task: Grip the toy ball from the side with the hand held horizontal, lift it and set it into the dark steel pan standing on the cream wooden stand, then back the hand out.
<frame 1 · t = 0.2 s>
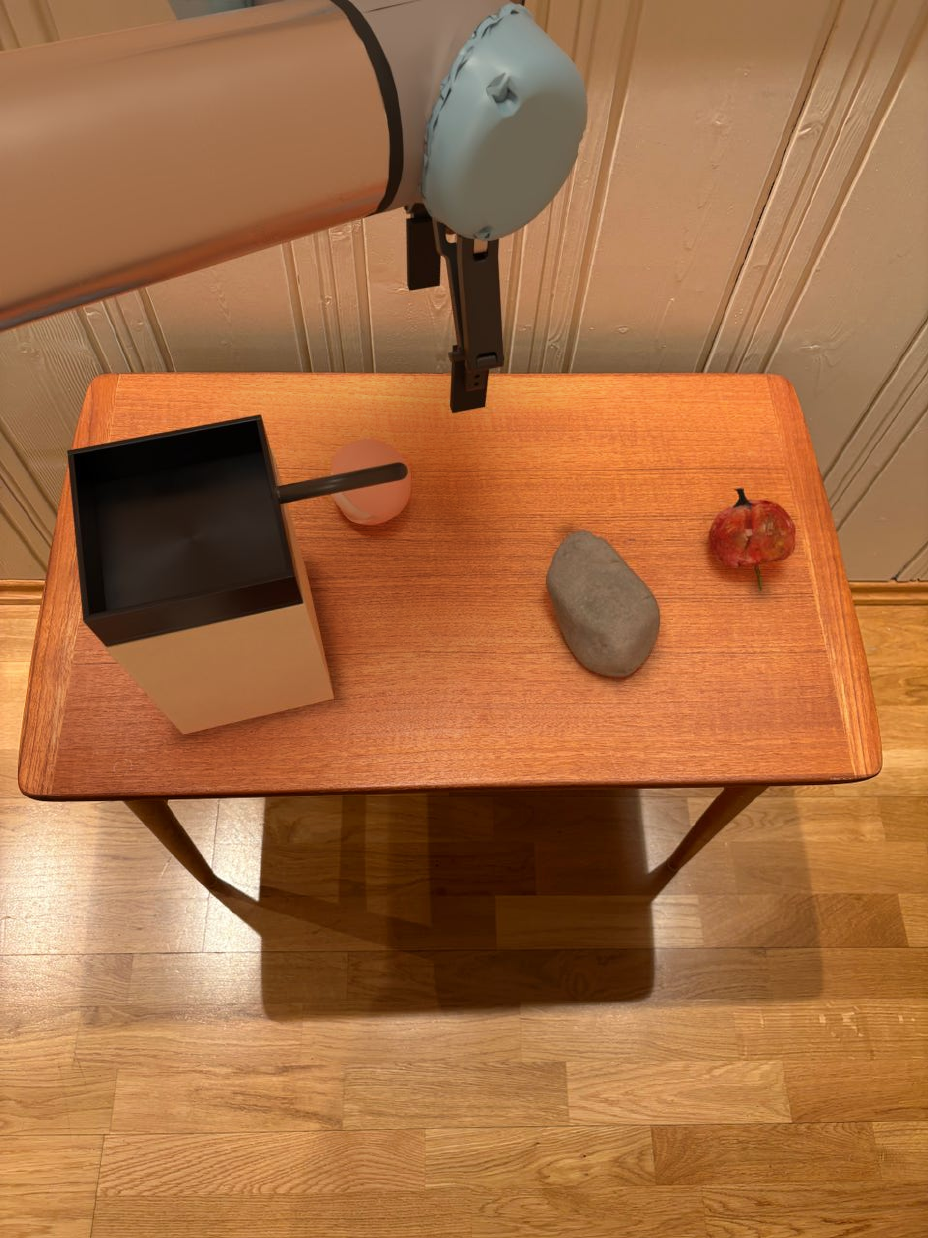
hand: (444, 343, 69), 16 cm above the table, tool pointing down, fingers open, 13 cm apart
toy ball: (372, 506, 82), on the table
stand: (247, 648, 75), on the table
pan: (193, 542, 57), resting on stand
stone: (590, 612, 78), on the table
pomegranate: (740, 557, 81), on the table
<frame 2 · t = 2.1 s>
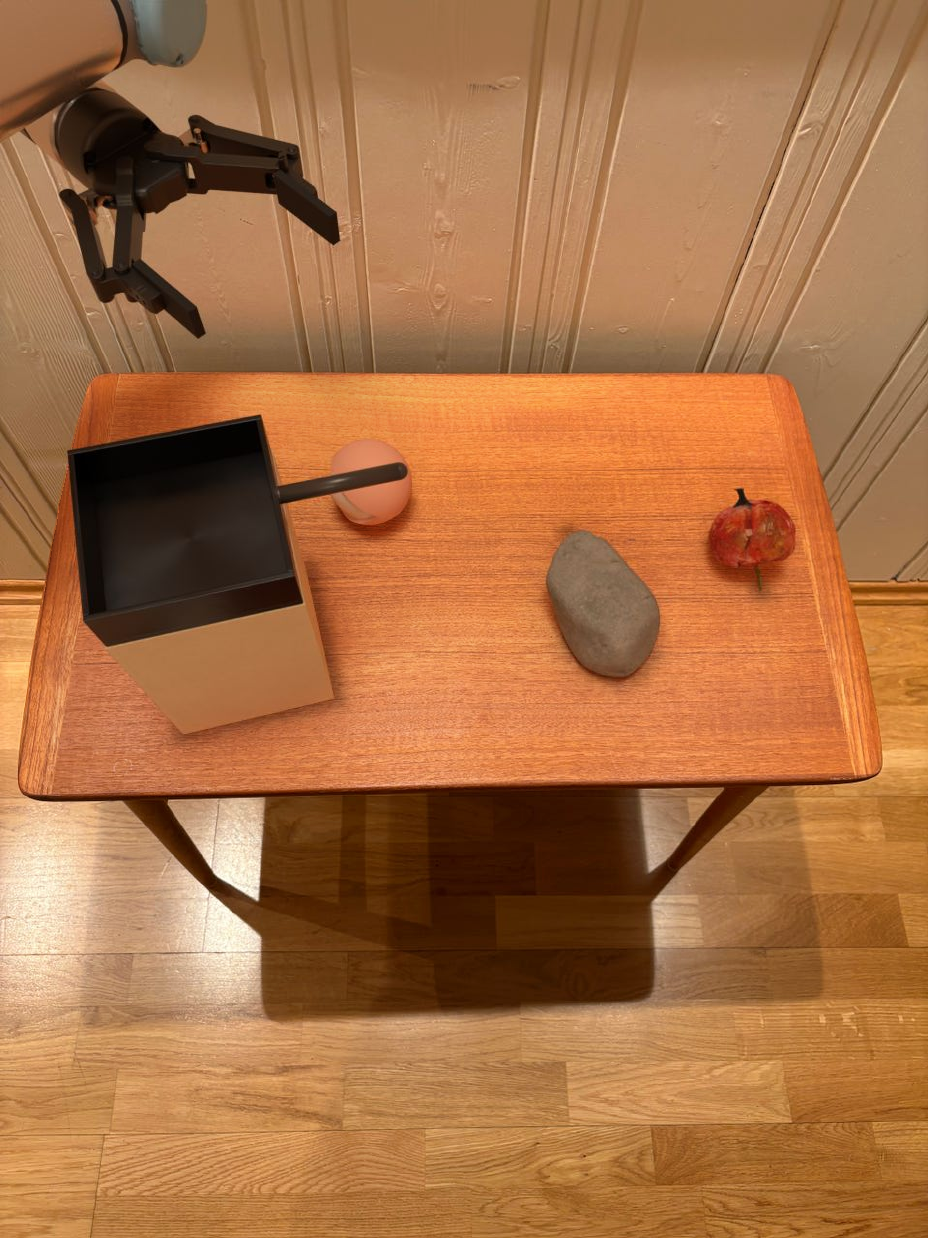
hand: (269, 274, 63), 22 cm above the table, tool horizontal, fingers open, 13 cm apart
nothing on the table moved.
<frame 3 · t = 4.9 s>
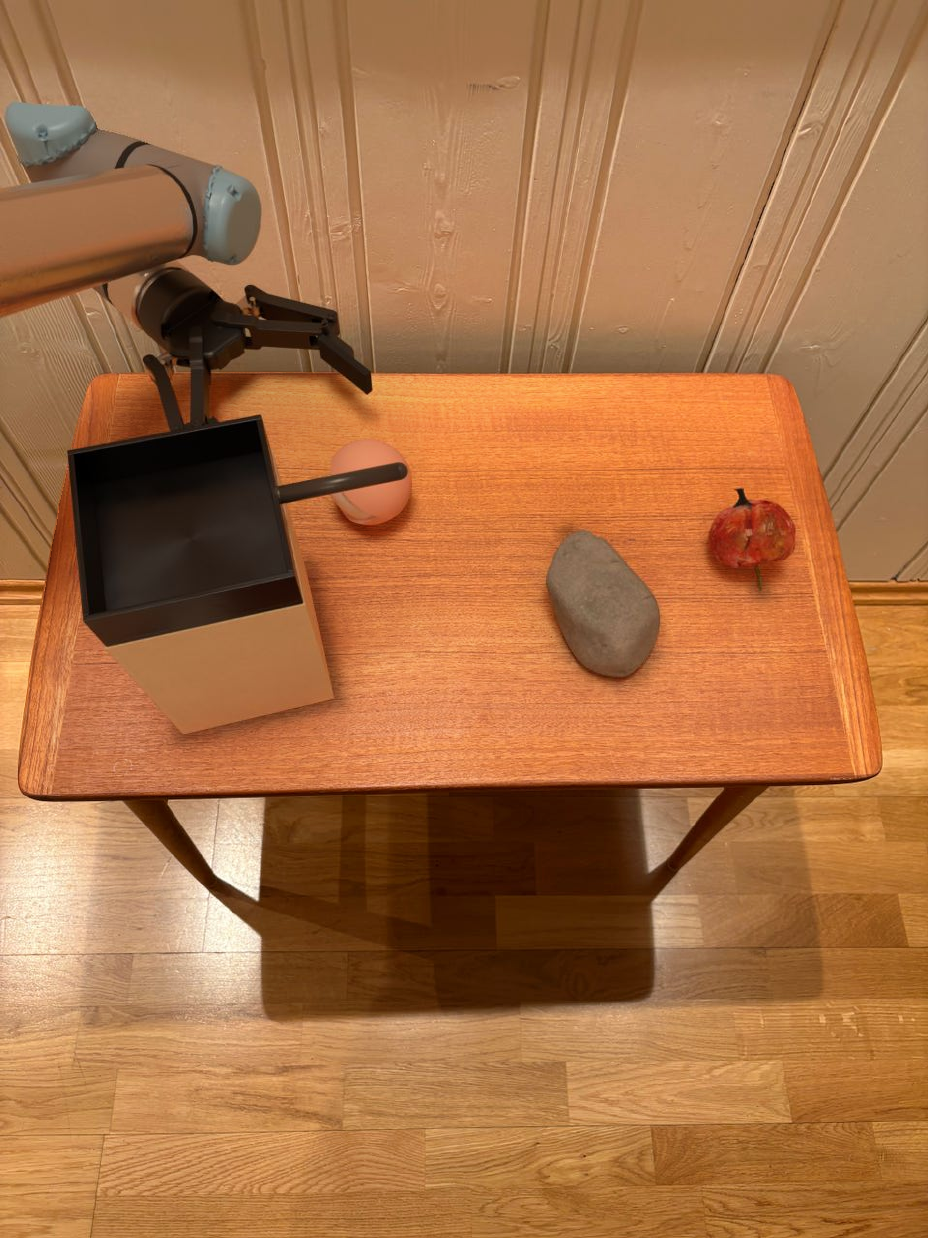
hand: (316, 425, 78), 6 cm above the table, tool horizontal, fingers open, 13 cm apart
nothing on the table moved.
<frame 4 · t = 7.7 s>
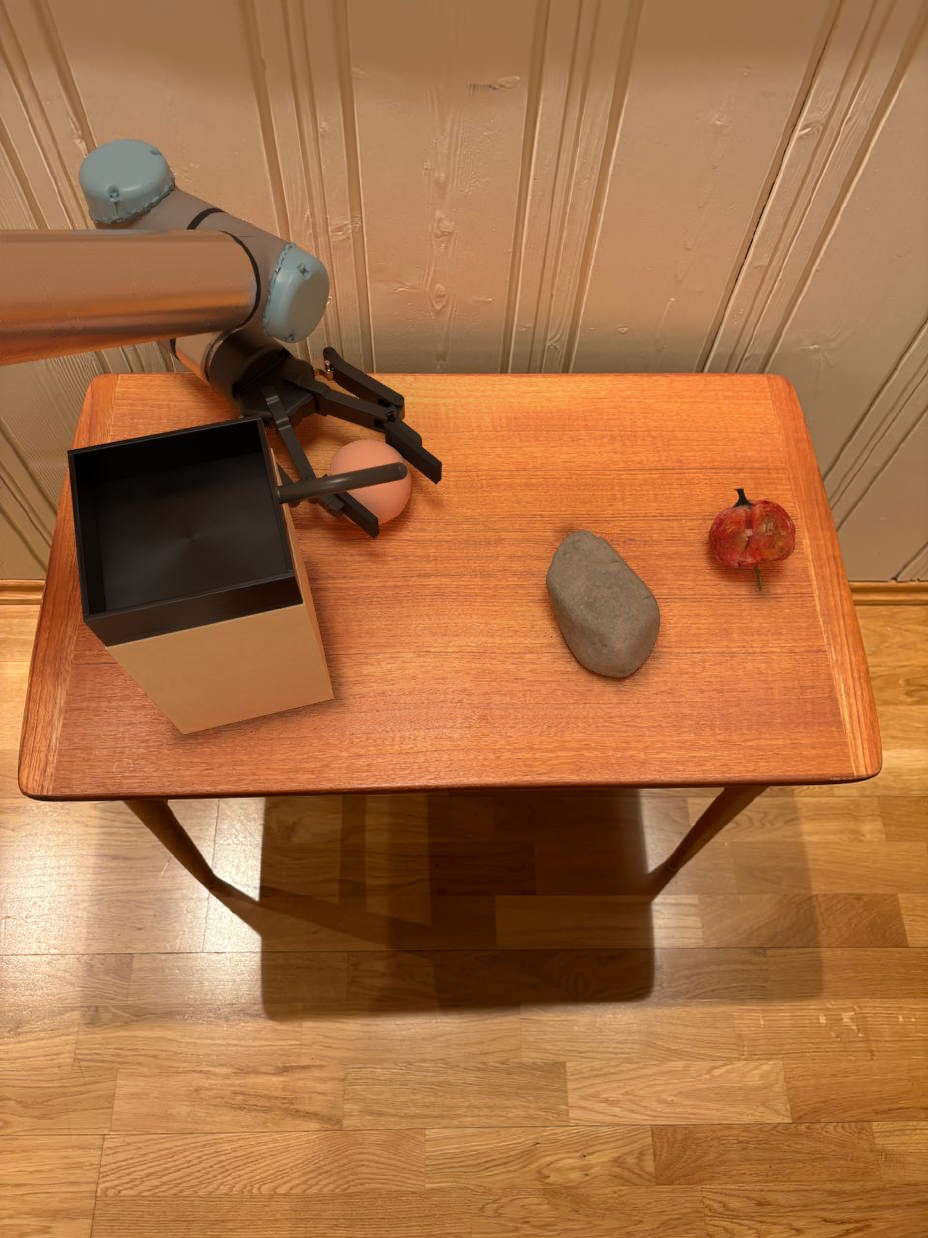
hand: (407, 500, 75), 6 cm above the table, tool horizontal, fingers closed on toy ball, 7 cm apart
toy ball: (372, 506, 81), on the table, touching gripper
everything else where it was.
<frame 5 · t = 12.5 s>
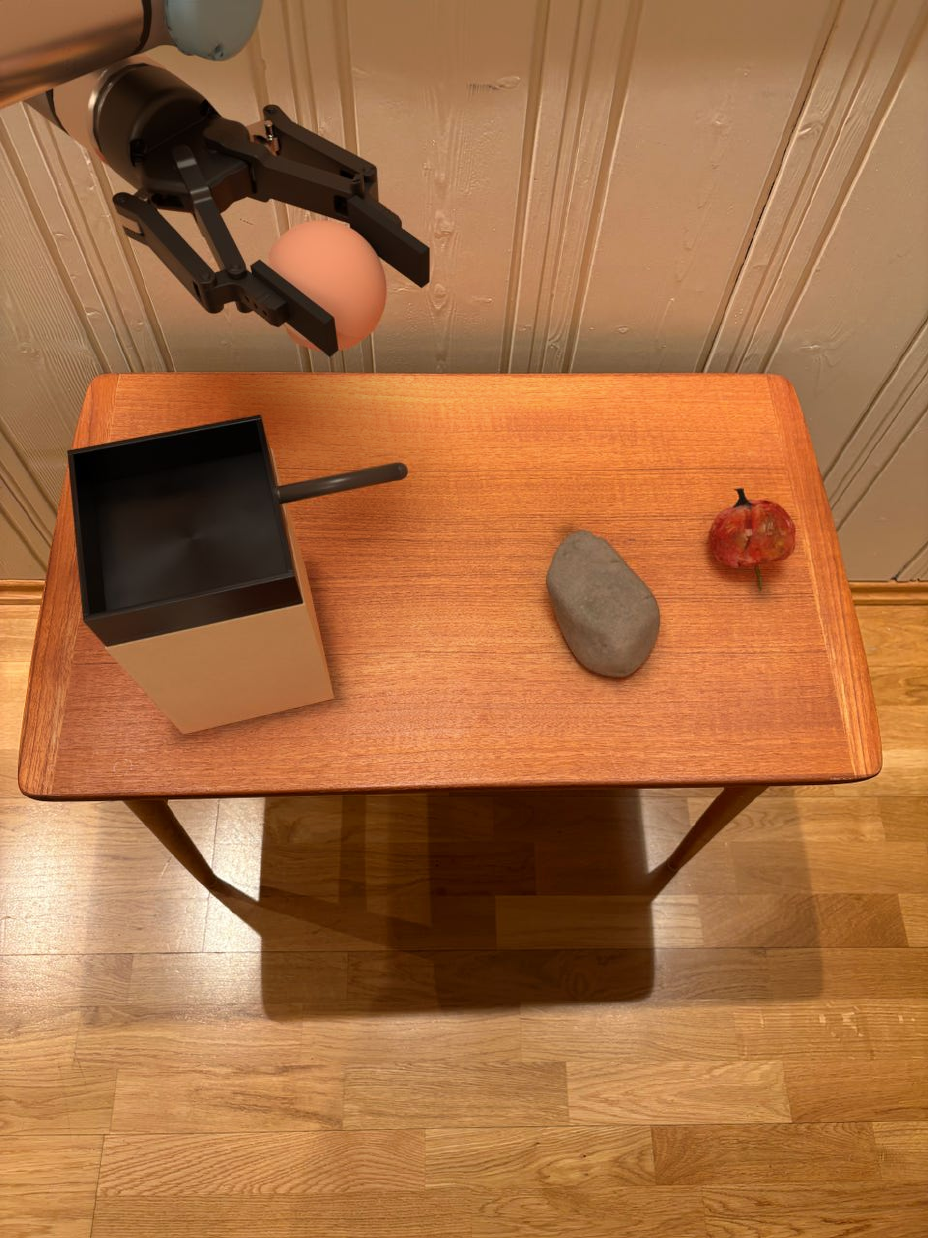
hand: (379, 301, 51), 31 cm above the table, tool horizontal, fingers closed on toy ball, 7 cm apart
toy ball: (333, 334, 58), point 25 cm above the table, touching gripper
everything else where it was.
when the fingers open (26 cm above the table, at t = 17.7 s): toy ball stays where it is, resting on pan.
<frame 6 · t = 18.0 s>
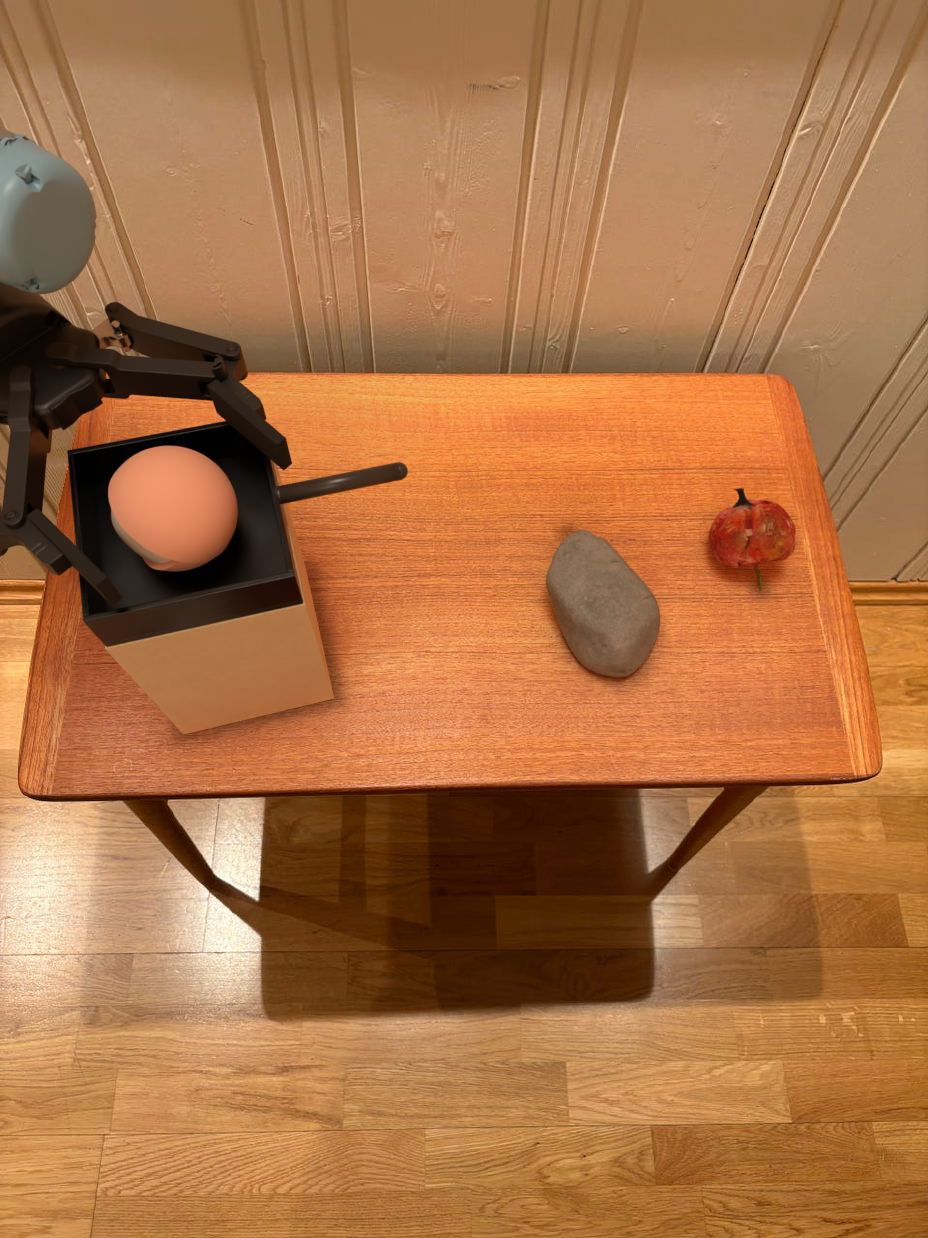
hand: (201, 520, 50), 26 cm above the table, tool horizontal, fingers open, 13 cm apart
toy ball: (191, 541, 57), point 19 cm above the table, touching pan
everything else where it was.
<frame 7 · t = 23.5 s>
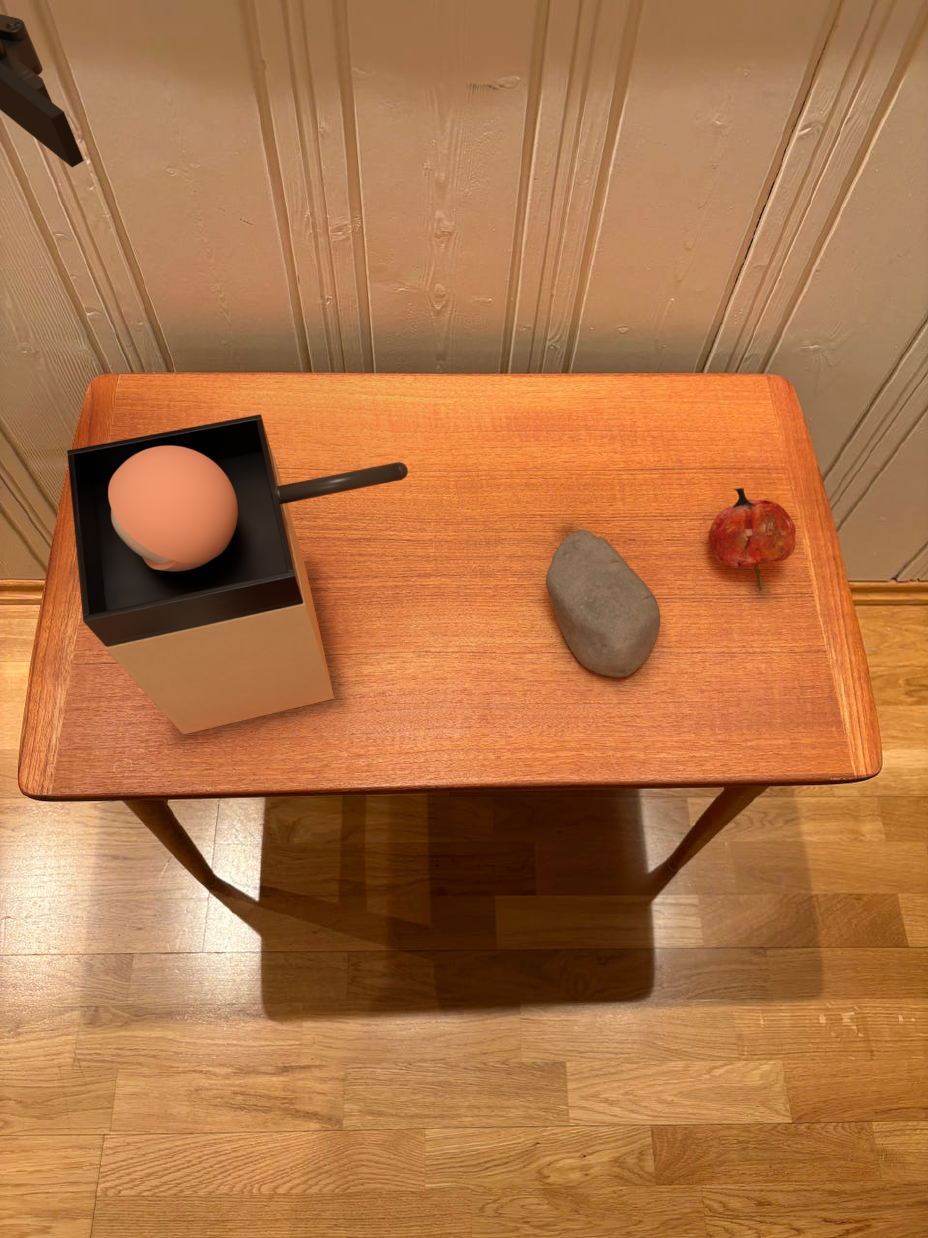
nothing on the table moved.
at the end: toy ball inside the target area on the pan (0.1 cm from its centre), point 0.3 cm above the pan's base; the gripper is holding nothing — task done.
